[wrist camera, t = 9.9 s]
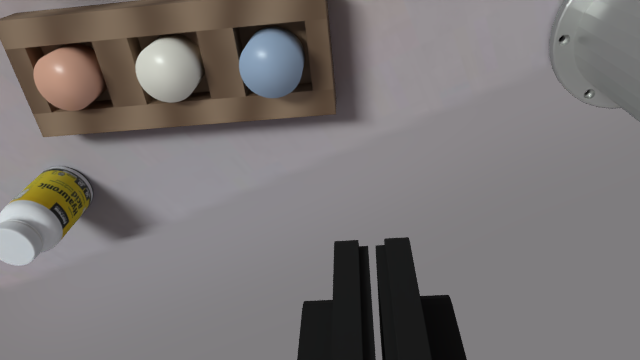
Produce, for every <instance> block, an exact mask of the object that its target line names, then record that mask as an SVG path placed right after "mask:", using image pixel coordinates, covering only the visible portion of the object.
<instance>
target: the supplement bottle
mask: <svg viewBox="0 0 640 360" xmlns="http://www.w3.org/2000/svg"><path fill="white" fill-rule="evenodd" d="M92 198H93V192H92V188H91V185H90V184H89V182H88V181H87V180H86V178H85V177H84V176H82V175H81V174H80V173H78V172H77V171H75V170H73V169H70V168H67V167H61V166H57V167H52V168H49V169H47V170H45V171H44V172H43V173H41V174H40V175H39V176H38V177H37V178H36V179H35V180H34V181H33V182H31V183H30V184H29V185H28V186H27V187H26V188H25V189H24V190H23V191H22V192H21V193H20V194H18V195H17V196H16V197H15V198H14V199H13V200H12V201H11V202H10V203H9V204H8V205H7V206H6V207H5V208H4V209H3V210H2V211H1V213H0V260H2V261H3V262H6V263H8V264H11V265H17V266H22V265H26V264H29V263H31V262H32V261H33V260H34V259H35V258H36V257H37V256H38V255H39V254H40V252H45V251H48V250H50V249H52V248H53V247H55V246H56V245H57V244H58V243H59V242H60V240H61V239H62V238H63V237H64V236H65V234H66V233H67V232H68V231H69V230H70V228H71V227H72V226H73V225H74V224H75V222H76V221H77V220H78V219H79V218H80V216H81V215H82V214H83V213H84V211H85V210H86V209H87V208H88V206H89V205H90V203H91V201H92Z"/></svg>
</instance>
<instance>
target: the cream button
mask: <svg viewBox="0 0 640 360" xmlns="http://www.w3.org/2000/svg"><path fill="white" fill-rule="evenodd" d="M204 74H205V69H204V64H203V60H202V56H201V52H200V48H199V47H198V45H197V44H196V43H195V42H193V41H192V40H191V39H189V38H188V37H186V36H183V35H180V34H165V35H163V36H160V37H159V38H157V39H156V40H155V41H154V42H152V43H151V44H150V45H149V46H147V47H146V48H145V49H144V50H143V51H142V52H141V53H140V54H139V56H138V58H137V61H136V75H137V78H138V81H139V83H140V85H141V86H142V88H143V89H144V90H145V91H146V92H147V93H148V94H149V95H151V96H152V97H154V98H155V99H158V100H160V101H163V102H169V103H174V102H179V101H182V100H184V99H186V98H187V97H188V96H190V94H191V93H192V92H193V91H194V89H195V88H196V87H197V85H198V84H199V83H200V81H201V80H202V78H203V76H204Z"/></svg>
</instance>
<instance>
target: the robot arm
mask: <svg viewBox="0 0 640 360" xmlns="http://www.w3.org/2000/svg"><path fill="white" fill-rule="evenodd" d="M561 36H563V38H562V39H561V40H559V38H560V37H561ZM549 56H550V61H551V65H552V69H553V71H554V73H555V75H556V77H557V79H558V81H559V82H560V83H561V84H562V86H563V87H564V88H565V89H566V90H567V91H568V92H569V93H571V94H572V95H573V96H574V97H575V98H577V99H579V100H580V101H582V102H584V103H586V104H590V105H593V106H596V107H603V108H623V109H624V110H625V111H626V112H628V113H629V114H630V115H632V116H633V117H634V118H635V119H637V120H638V121H639V122H640V0H564V2H563V4H562V6H561V7H560V9H559V11H558V13H557V16H556V18H555V21H554V23H553V26H552V31H551V36H550V41H549ZM586 91H587V92H586ZM585 92H586V93H585ZM384 242H385V245H379V246H376V263H377V279H378V280H377V281H378V299H379V316H380V333H381V347H382V360H467V359H466V355H465V352H464V348H463V344H462V340H461V336H460V332H459V328H458V325H457V321H456V317H455V313H454V310H453V306H452V302H451V299H450V297H449V295H435V296H420V294H419V289H418V284H417V278H416V273H415V267H414V262H413V257H412V252H411V246H410V241H409V238H408V237H406V238H389V239H385V240H384ZM297 360H376V359H375V344H374V330H373V315H372V299H371V284H370V270H369V255H368V246H359V243H358V240H351V241H335V243H334V274H333V300H322V301H304V304H303V308H302V319H301V328H300V338H299V348H298V359H297Z"/></svg>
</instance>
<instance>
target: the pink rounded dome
mask: <svg viewBox="0 0 640 360" xmlns="http://www.w3.org/2000/svg"><path fill="white" fill-rule="evenodd" d="M33 75H34V81H35V84H36V87H37V89H38V91H39V92H40V94H41V95H42V96H43V97H44V98H45V99H46V100H47V101H48V102H49V103H51V104H52V105H54V106H56V107H58V108H60V109H63V110H68V111H77V110H81V109H83V108H85V107H87V106H88V105H89V104H90V103H91V102H93V101H94V100H95V99H96V98H97V97H99V96H100V95H101V94H102V93H103V92H104V91H105V90H106V89H107V85H106V83H105V80H104V77H103V74H102V71H101V68H100V65H99V62H98V59H97V56H96V54H95V51H94V50H93V49H91V48H90V47H88V46H86V45H83V44H79V43H69V44H66V45H63V46H61V47H60V48H58V49H56V50H54V51H52V52H50V53H49V54H47V55H45V56H43V57H42V58H40V59H39V60H38V61H37V63H36V65H35V67H34V73H33Z"/></svg>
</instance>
